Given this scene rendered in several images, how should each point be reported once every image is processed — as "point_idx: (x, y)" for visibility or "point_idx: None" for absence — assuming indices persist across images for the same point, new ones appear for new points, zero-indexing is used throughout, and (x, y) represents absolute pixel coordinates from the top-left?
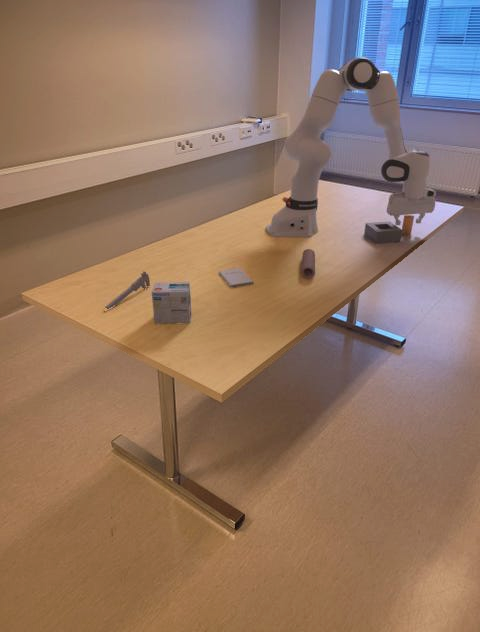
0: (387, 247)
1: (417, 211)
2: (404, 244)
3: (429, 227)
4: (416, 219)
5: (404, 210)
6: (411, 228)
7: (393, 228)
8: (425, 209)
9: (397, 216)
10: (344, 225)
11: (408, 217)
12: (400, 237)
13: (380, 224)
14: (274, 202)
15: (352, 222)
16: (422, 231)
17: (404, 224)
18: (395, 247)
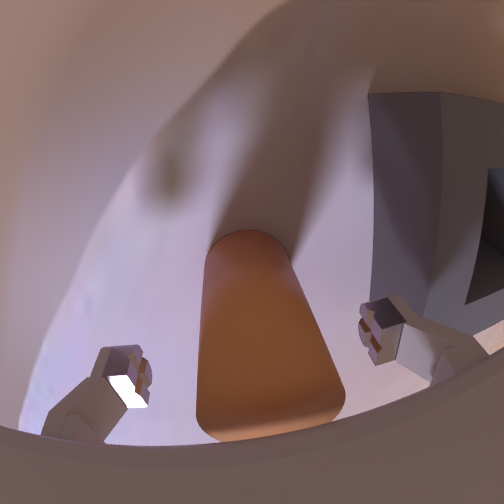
0: (470, 29)
1: (150, 483)
2: (353, 31)
3: (59, 374)
4: (145, 394)
5: (466, 445)
6: (216, 277)
7: (490, 167)
8: (22, 480)
9: (471, 351)
10: None
11: (309, 377)
12: (394, 93)
13: (500, 287)
14: None
15: None
16: (97, 325)
17: (311, 311)
18: (430, 7)
